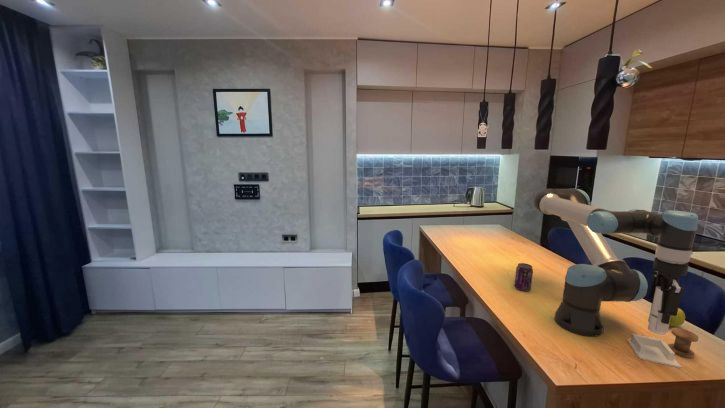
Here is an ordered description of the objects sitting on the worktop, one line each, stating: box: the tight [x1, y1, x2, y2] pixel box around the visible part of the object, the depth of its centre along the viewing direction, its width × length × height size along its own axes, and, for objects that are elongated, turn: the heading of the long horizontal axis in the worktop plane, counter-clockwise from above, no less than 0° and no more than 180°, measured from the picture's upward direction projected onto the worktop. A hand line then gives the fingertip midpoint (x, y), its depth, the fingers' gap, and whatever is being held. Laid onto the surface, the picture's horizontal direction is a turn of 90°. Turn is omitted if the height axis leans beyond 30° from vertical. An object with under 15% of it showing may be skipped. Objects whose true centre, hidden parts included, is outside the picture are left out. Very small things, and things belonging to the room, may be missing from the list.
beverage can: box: [514, 262, 534, 292], centre depth 142 cm, size 7×7×12 cm
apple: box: [669, 307, 686, 327], centre depth 113 cm, size 8×9×8 cm
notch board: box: [627, 333, 682, 369], centre depth 98 cm, size 10×10×3 cm
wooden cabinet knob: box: [667, 327, 699, 359], centre depth 98 cm, size 6×6×7 cm
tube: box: [647, 286, 669, 336], centre depth 96 cm, size 4×4×15 cm
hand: (657, 326), depth 97 cm, fingers closed on tube, 4 cm apart
